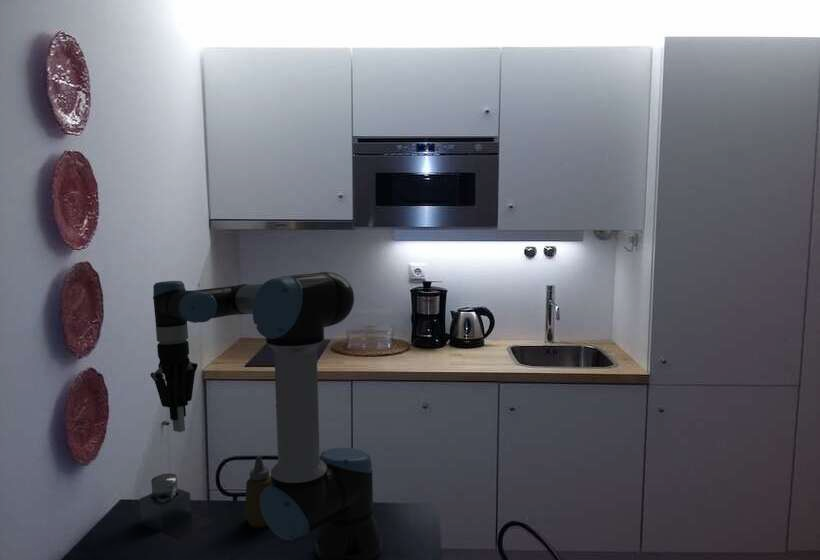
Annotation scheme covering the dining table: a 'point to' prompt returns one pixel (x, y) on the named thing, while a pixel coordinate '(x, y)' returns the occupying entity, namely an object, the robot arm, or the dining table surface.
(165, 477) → the dark grey round knob
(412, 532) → the dining table surface
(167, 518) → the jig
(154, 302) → the robot arm
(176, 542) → the dining table surface
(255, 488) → the squeeze bottle
